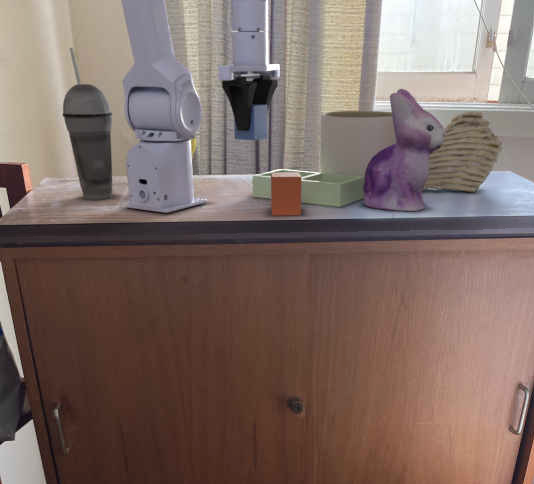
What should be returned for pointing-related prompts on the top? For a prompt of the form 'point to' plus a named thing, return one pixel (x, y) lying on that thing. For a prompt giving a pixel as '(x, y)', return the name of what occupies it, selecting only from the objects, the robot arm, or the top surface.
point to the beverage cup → (90, 137)
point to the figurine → (403, 158)
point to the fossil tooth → (464, 154)
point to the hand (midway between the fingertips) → (251, 129)
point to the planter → (353, 140)
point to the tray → (316, 187)
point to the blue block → (255, 124)
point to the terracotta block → (286, 193)
